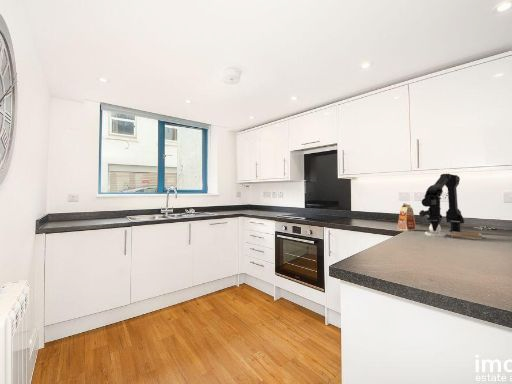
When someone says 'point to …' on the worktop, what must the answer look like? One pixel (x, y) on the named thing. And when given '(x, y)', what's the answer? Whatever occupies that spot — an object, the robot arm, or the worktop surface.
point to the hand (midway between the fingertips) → (435, 230)
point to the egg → (436, 229)
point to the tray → (466, 235)
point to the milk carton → (406, 218)
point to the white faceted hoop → (435, 234)
